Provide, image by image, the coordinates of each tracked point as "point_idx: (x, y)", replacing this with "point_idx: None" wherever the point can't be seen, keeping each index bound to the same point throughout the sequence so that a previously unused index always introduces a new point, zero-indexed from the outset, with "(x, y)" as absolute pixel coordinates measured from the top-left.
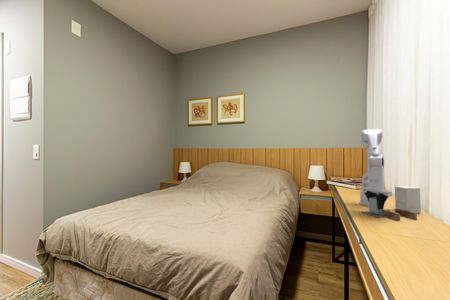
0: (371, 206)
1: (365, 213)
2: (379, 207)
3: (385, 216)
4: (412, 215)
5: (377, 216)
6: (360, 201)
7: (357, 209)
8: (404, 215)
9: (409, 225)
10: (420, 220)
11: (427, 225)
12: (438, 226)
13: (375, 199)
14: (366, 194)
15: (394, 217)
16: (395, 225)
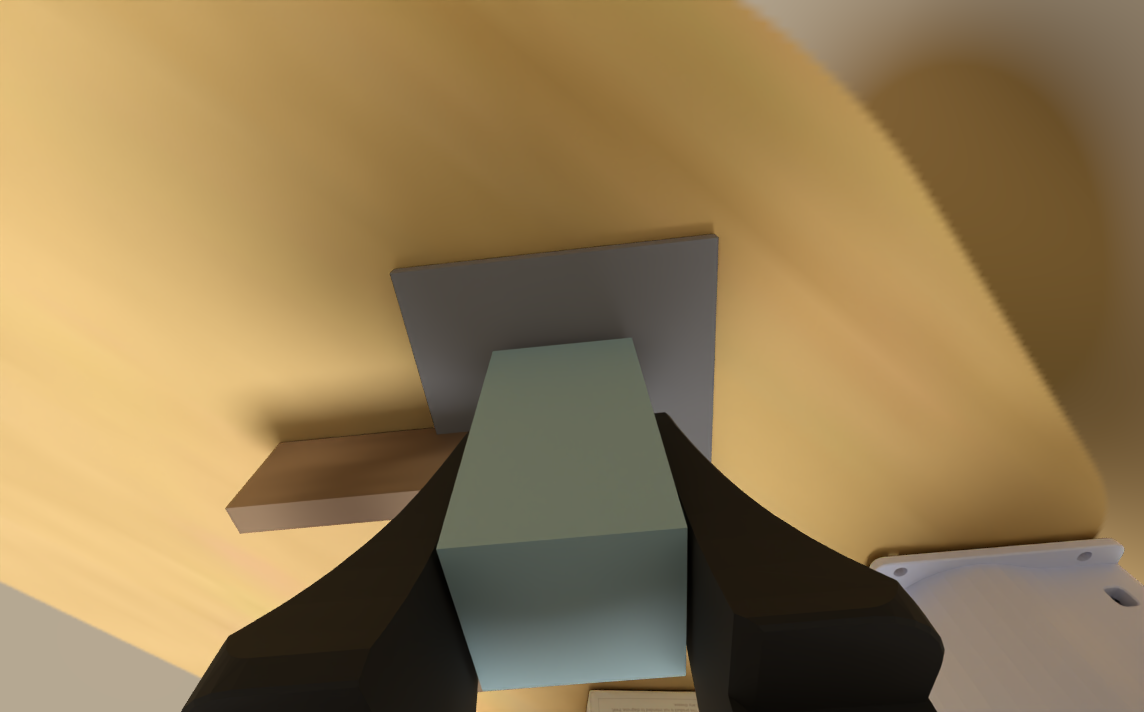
0: (589, 396)
1: (614, 246)
2: (454, 455)
3: (432, 416)
4: None
5: (415, 303)
6: (1130, 577)
7: (881, 302)
8: None
9: (102, 430)
10: None
11: (171, 581)
12: (167, 632)
13: (458, 542)
14: (796, 583)
15: (317, 456)
16: (24, 260)
